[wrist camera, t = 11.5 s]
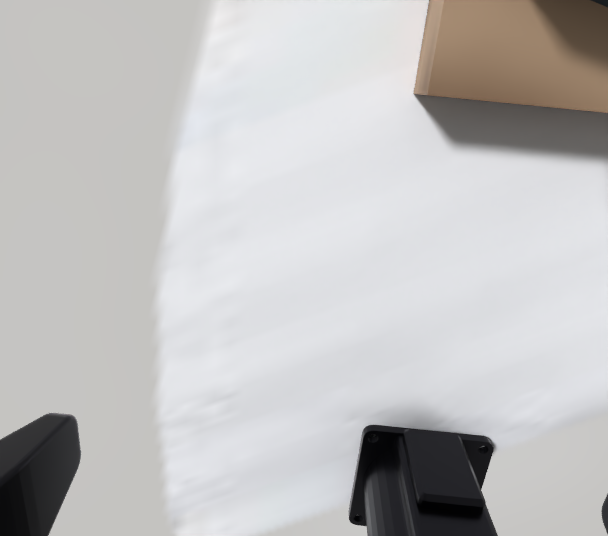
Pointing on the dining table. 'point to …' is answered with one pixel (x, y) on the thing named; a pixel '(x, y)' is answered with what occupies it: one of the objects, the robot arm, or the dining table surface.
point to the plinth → (517, 52)
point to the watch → (601, 2)
